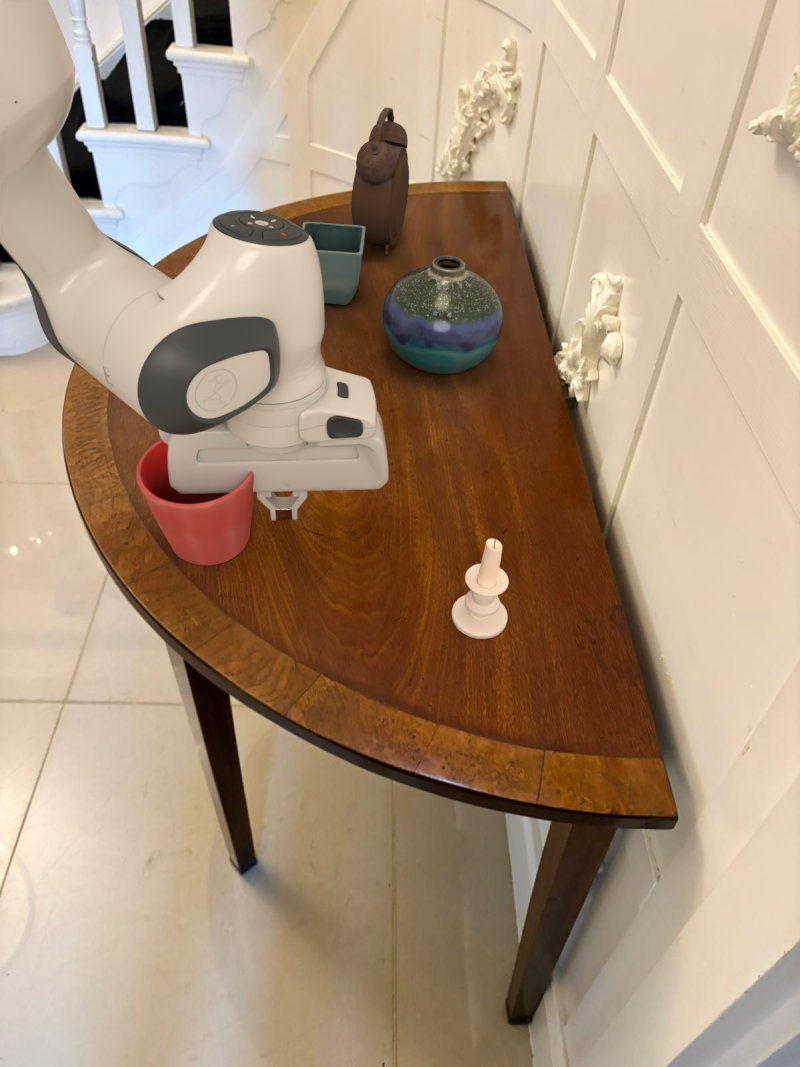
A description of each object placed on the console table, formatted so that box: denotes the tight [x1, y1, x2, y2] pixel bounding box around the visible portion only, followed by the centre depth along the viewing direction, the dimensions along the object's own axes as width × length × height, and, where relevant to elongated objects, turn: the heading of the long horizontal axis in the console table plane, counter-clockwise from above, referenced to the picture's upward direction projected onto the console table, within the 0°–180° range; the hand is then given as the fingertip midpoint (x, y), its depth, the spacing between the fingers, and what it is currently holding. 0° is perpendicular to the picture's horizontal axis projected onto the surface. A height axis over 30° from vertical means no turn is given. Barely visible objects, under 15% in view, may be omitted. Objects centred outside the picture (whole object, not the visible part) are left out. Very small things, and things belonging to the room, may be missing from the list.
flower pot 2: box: [301, 221, 366, 306], centre depth 111 cm, size 9×9×9 cm
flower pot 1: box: [135, 439, 255, 566], centre depth 75 cm, size 11×11×10 cm
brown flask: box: [350, 107, 410, 257], centre depth 119 cm, size 15×7×20 cm, turn 169°
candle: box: [451, 538, 510, 640], centre depth 70 cm, size 5×5×10 cm
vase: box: [381, 255, 504, 375], centre depth 99 cm, size 15×15×13 cm
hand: (284, 516), depth 78 cm, fingers closed
